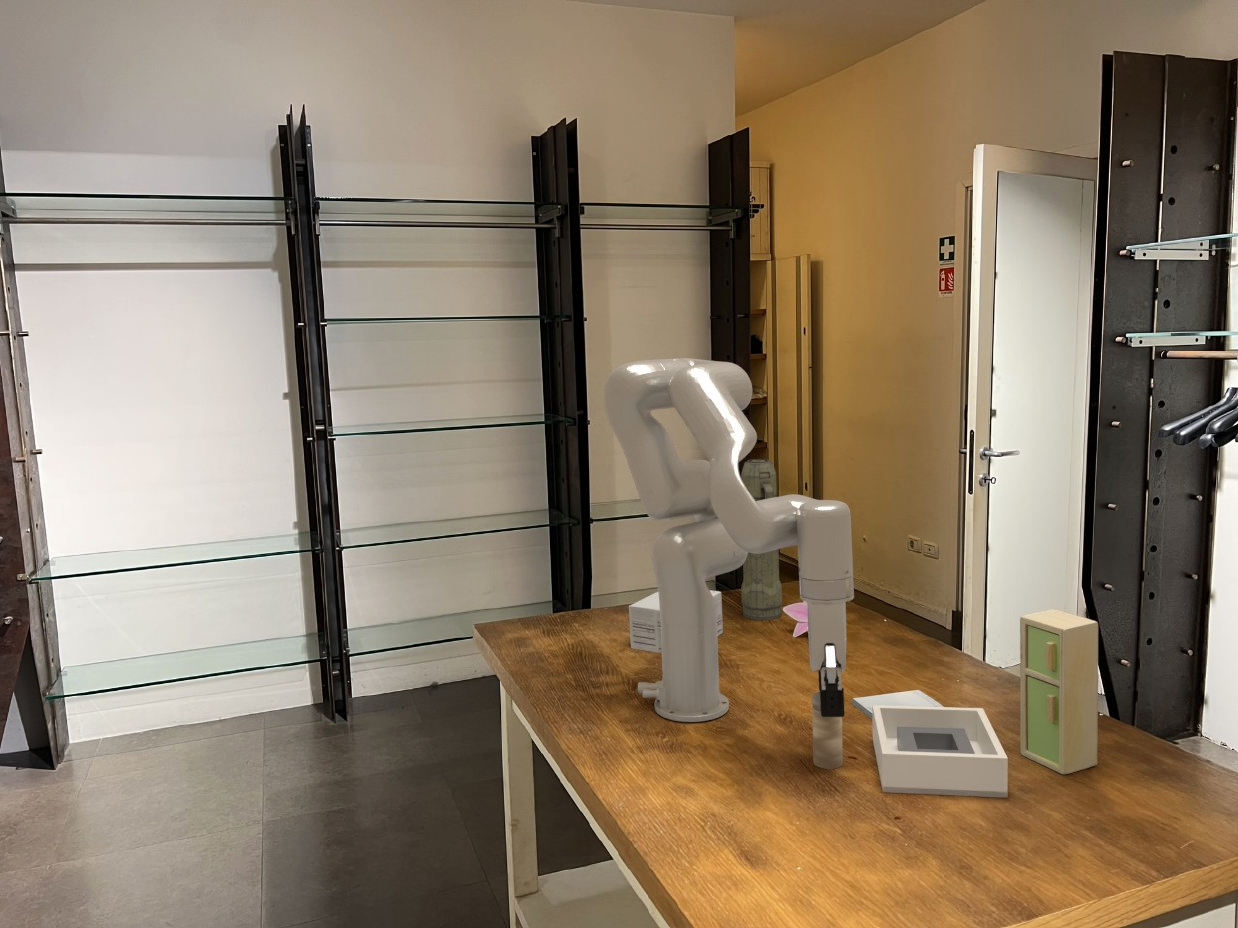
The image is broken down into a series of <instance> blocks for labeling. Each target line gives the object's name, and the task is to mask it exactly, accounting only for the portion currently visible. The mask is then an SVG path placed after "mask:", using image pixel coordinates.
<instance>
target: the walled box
mask: <svg viewBox="0 0 1238 928" xmlns="http://www.w3.org/2000/svg"><path fill="white" fill-rule="evenodd" d="M872 710H873V720H872V742H873V748H874V754H875V759H876V764H877V769H878V774H879V779H880V785H881V789H882V790H881V791H882V793H893V794H895V793H897V794H915V795H916V794H917V795H939V796H958V797H959V796H961V797H962V796H963V797H979V798H980V797H985V798H1001V799H1003V798H1006V799H1008V787H1009V786H1008V778H1009V777H1008V776H1009V775H1008V774H1009V768H1008V765H1009V764H1008V763H1009V760H1008V759H1009V758H1008V756H1007V754H1006V752H1005V750H1004V748H1003V746H1002V744H1001V742H1000V740H999V737H998V736H997V734H996V732H995V730H994V728H993V726H992V724H991V722H990V720H989V718H988V716H987V714H986V711H985V710H984V708H983V707H979V708H978V707H955V706H953V707H951V706H950V707H949V706H948V707H946V706H943V707H920V706H884V705H872Z"/></svg>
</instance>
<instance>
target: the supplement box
mask: <svg viewBox="0 0 1238 928" xmlns="http://www.w3.org/2000/svg"><path fill="white" fill-rule="evenodd" d="M709 590H710V589H709ZM710 592H711V594H712V596H713V598H714V600H715V603H716V610H717V636H718V637H719V636H720V635H722V634H723V633H724V629H723V628H724V625H723V605H722V604H723V603H722V602H723V601H722V592H721V591H719V590H710ZM628 617H629V619H628V620H629V635H630V636H629V637H630V648H631V649H635V650H641V651H647V652H653V653H657V654H662V648H661V623H660V605H659V594H658V591H656V592H654V593H651V594H650V595H649V596H646V597H644V598H642V599H640V600H638V601H636V602H634V603H632V604H630V605H628Z"/></svg>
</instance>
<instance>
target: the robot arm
mask: <svg viewBox="0 0 1238 928" xmlns="http://www.w3.org/2000/svg"><path fill="white" fill-rule="evenodd" d="M752 385H753V383H752V380H751V379H750V377H749V375H748V373H747V372H746V371H745V370H744V369H743V368H742V367H740V365H738V364H735V363H733V362H729V361H716V360H709V359H708V360H707V359H706V360H705V359H699V358H689V357H682V358H680V357H679V358H678V357H677V358H675V357H674V358H664V359H663V358H661V359H660V358H659V359H644V360H634V361H630V362H626V363H623V364H620V365H619V366H617V367H615V368H614V370H612V371H611V372H610V374H609V375H608V376H607V379H606V382H605V385H604V389H603V405H604V406H603V407H604V412H605V415H606V417H607V422H608V423H609V426H610V427H611V429H612V432H613V434H614V435H615V437H616V439H617V441H618V443H619V445H620V446H621V449H622V451H623V454H624V456H625V459H626V462H627V465H628V468H629V472H630V474H631V476H632V480H633V483H634V485H635V489H636V491H637V493H638V497H639V499H640V503H641V504H642V507H643V509H644V511H645V513H646V515H647V516H648V517H649V518H650V519H652V520H654V521H659V522H666V521H674V520H679V519H684V518H688V517H692V516H693V518H694V520H695V521H694V522H690V523H689V522H688V523H685V524H681V525H677V526H673V527H670V528H668V529H665V530H663V531H662V532H661V533H660V534H659V535H658V536H657V537H656V538H655V540H654V542H653V544H652V547H651V552H650V553H651V555H650V556H651V562H652V567H653V572H654V575H655V580H656V586H657V592H658V594H659V605H660V623H661V648H662V653H661V667H662V670H661V671H662V679H661V680H656V682H645V681H644V682H643V681H642V682H638V684H637V693H638V694H642V698H644V699H652V698H653V699H654V698H655V701H654V711H655V712H656V713H657V714H658V715H660V717H662V718H664V719H667V720H670V721H676V722H681V723H700V722H707V721H711V720H715V719H718V718H720V717H722V716H724V715H725V714H726V713H727V712H728V711H729V708H730V701H729V698H728V697H726V696H725V694H723V693H721V692H720V674H719V673H720V672H719V670H720V669H719V668H720V667H719V645H718V644H719V641H718V640H719V639H718V638H719V636H717V610H716V603H715V600H714V598H713V596H712V594H711V592H710V589H709V587H708V585H707V583H706V580H707V579H710V578H712V577H715V576H720V575H723V574H726V573H730V572H732V571H735V570H737V569H739V568H740V567H742V566H743V563H744V562H745V560H746V558H747V554H748V552H749V553H754V554H760V553H765V552H769V551H773V550H777V549H778V550H780V549H783V548H789V547H794V546H797V558H798V576H799V577H798V580H799V582H798V583H799V599H800V600H801V601H806V602H808V630H807V634H808V635H807V636H808V654H809V655H808V657H809V669H810V671H812V673H815V672H816V671H818V689H819V690H818V691H819V692H820V704H821V716H822V717H842V718H844V717H845V694H844V693H845V692H844V691H845V690H844V687H843V683H842V673H843V672H844V671H845V670H846V663H847V662H846V661H847V613H846V612H847V609H846V608H847V606H846V602H851V601H852V600H853V599H855V592H854V591H855V589H854V588H855V587H854V563H853V561H854V559H853V539H852V538H853V537H852V535H853V534H852V518H851V514H852V513H851V509H850V507H849V505H848V504H847V503H845V502H844V501H840V500H835V499H834V500H833V499H815V498H812V497H809V496H806V495H801V494H793V493H792V494H786V495H781V496H776V497H774V498H769V499H764V500H759V501H755V500H754V498H753V497H752V495H751V494H750V493H749V491H748V489H747V488H746V486H745V485H744V483H743V481H742V479H741V473H740V470H739V463H740V462H741V461H742V460H743V459H745V458H746V456H748V454H750V453H751V451H752V450H753V448H754V447H755V445H756V443H757V441H758V440H757V439H758V434H757V432H756V430H755V428H754V427H753V425H752V424H751V422H750V421H749V420H748V418H747V416H746V415H745V414H744V413H743V410H745V409H746V408H747V407H748V406H749V404H750V402H751V400H752V398H753V386H752ZM666 409H675V411H676V412H677V413H678V415H679V417H680V418H681V420H682V421H683V423H684V424H685V426H686V427H687V429H688V431H689V432H690V433H691V435H692V436H693V438H694V440H695V441H696V443H697V445H699V447H700V449H701V450H702V452H703V454H704V455H705V456H706V458H707V460H706V459H705V460H704V459H690V460H684V461H683V460H682V459H681V458H680V457H679V454H678V453H677V450H676V448H675V443H674V441H673V438H672V437H671V435H670V433H669V432H668V430H667V429H666V428H665V426H664V425H663V424H662V423H661V422H660V421H659V420H658V419H656V418H655V417H654V416H653V414H652V410H653V411H655V410H666Z"/></svg>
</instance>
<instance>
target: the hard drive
mask: <svg viewBox="0 0 1238 928" xmlns="http://www.w3.org/2000/svg"><path fill="white" fill-rule="evenodd" d="M851 705H853V706H854V707H855V708H857V710H859V711H860V710H861V711H860V712H862V714H864V715H865V714H866V715H865V716H867V717H868V718H869V719H870V720H872V721H873V710H872V705H884V706H920V707H944V706H943V704H941V703H940V702H938V701H936V699H933V698H932V697H930V696H929V695H927V694H926V693H925V692H923V691H921V690H919V689H915V690H907V691H900V692H892V693H883V694H877V695H868V696H862V697H853V698H851Z"/></svg>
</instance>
